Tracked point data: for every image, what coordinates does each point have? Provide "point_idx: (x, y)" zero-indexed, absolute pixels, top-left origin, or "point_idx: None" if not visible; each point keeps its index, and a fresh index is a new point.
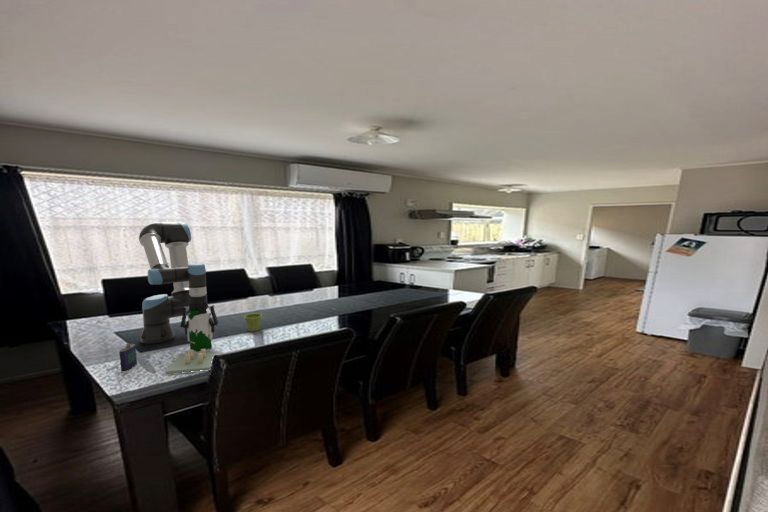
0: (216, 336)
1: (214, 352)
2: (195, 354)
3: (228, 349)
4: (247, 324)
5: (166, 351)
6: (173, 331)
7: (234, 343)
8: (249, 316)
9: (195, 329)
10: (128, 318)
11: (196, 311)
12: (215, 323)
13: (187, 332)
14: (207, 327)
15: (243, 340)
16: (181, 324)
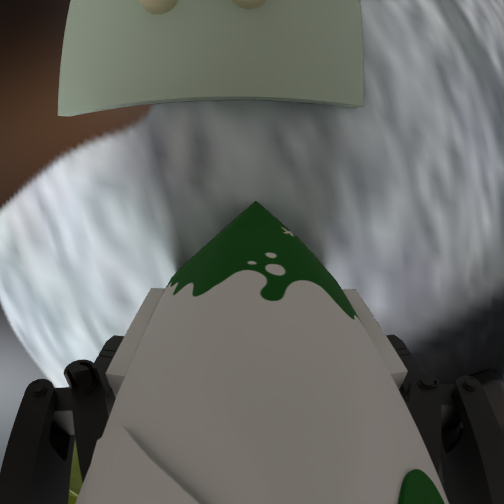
0: None
1: (101, 96)
2: (242, 77)
3: (57, 208)
4: (78, 463)
5: (447, 268)
6: None
7: (63, 309)
8: None
9: (293, 301)
10: None
11: None
12: (37, 393)
13: (387, 339)
14: (132, 359)
15: (42, 340)
16: (480, 399)
